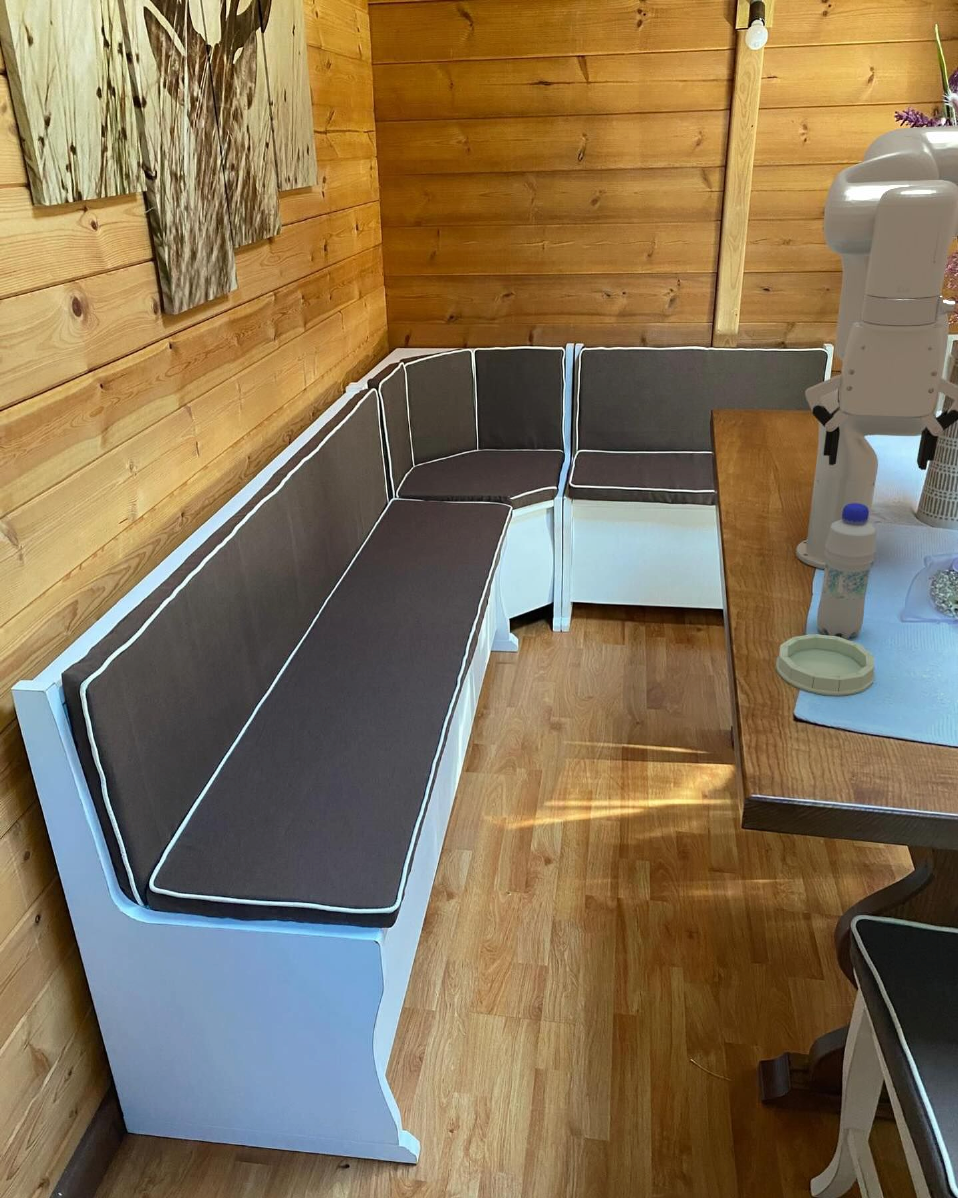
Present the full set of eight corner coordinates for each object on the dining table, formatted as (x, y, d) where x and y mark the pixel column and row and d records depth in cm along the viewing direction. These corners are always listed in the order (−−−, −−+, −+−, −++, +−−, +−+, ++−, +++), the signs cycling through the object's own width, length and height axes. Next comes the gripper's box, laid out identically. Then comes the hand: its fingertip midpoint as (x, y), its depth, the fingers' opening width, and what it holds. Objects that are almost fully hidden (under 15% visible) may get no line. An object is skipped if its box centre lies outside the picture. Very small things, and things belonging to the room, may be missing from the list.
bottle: (823, 617, 137) (840, 493, 128) (868, 629, 133) (889, 501, 124) (806, 634, 132) (823, 507, 123) (852, 647, 128) (873, 516, 119)
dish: (777, 643, 130) (779, 629, 129) (871, 654, 126) (873, 639, 125) (774, 688, 119) (776, 673, 118) (876, 701, 116) (879, 685, 115)
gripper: (983, 306, 97) (953, 458, 105) (814, 305, 103) (798, 450, 110) (995, 317, 91) (962, 478, 99) (814, 317, 96) (797, 469, 104)
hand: (875, 463), depth 104 cm, fingers open, 9 cm apart
